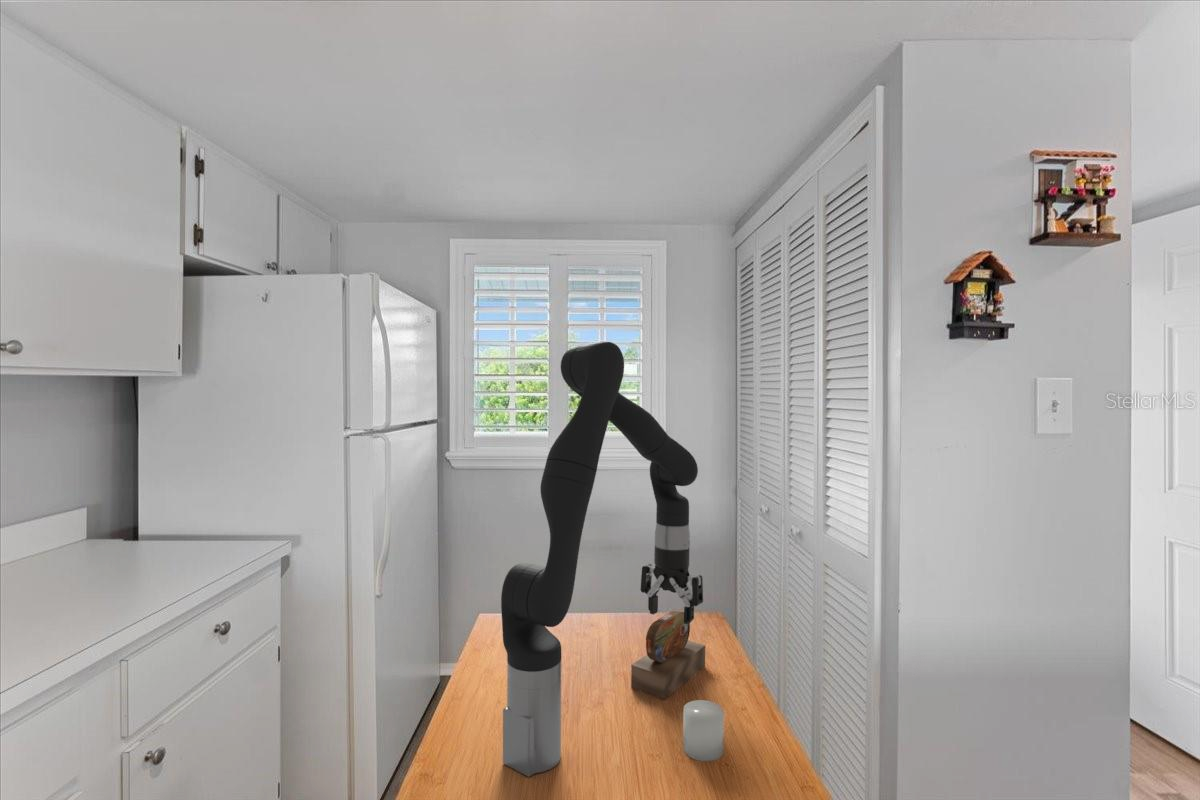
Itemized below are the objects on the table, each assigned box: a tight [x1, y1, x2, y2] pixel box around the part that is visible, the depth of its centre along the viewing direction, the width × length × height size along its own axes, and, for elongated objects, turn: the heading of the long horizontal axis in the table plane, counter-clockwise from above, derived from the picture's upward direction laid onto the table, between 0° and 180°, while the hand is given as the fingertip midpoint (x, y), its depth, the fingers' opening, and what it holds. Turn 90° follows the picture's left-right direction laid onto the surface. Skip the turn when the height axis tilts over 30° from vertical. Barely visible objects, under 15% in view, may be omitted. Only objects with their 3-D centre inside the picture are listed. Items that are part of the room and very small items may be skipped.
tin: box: [645, 610, 691, 663], centre depth 137 cm, size 15×3×8 cm, turn 143°
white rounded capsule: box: [682, 699, 725, 762], centre depth 111 cm, size 7×7×7 cm
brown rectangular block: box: [630, 640, 706, 701], centre depth 137 cm, size 18×8×5 cm, turn 143°
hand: (670, 618), depth 136 cm, fingers open, 8 cm apart
